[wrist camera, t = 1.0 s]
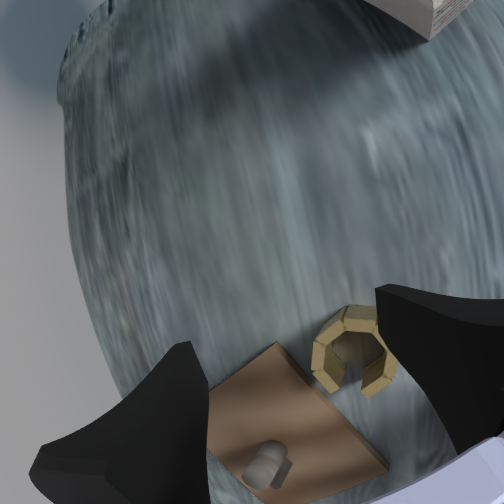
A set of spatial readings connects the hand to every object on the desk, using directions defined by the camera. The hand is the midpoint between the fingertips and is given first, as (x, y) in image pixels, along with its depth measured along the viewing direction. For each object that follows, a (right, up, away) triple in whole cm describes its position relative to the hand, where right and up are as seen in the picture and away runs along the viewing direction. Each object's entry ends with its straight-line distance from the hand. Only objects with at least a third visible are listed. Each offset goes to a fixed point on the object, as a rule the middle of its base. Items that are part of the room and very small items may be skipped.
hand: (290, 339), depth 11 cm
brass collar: (+6, -3, +10) cm, 12 cm away
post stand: (+1, -14, +13) cm, 19 cm away
